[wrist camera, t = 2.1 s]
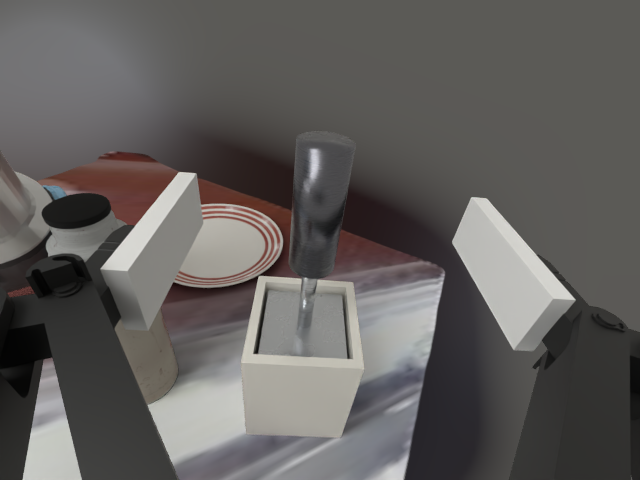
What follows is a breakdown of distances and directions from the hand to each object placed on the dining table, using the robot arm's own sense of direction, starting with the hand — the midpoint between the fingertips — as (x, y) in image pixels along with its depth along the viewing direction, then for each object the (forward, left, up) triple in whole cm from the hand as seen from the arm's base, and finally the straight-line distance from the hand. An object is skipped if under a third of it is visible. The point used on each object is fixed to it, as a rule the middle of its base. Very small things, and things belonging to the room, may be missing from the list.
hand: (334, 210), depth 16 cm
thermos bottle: (-20, -12, -36) cm, 43 cm away
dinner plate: (-43, +6, -37) cm, 57 cm away
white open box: (-8, +5, -36) cm, 38 cm away
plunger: (-8, +5, -22) cm, 24 cm away
